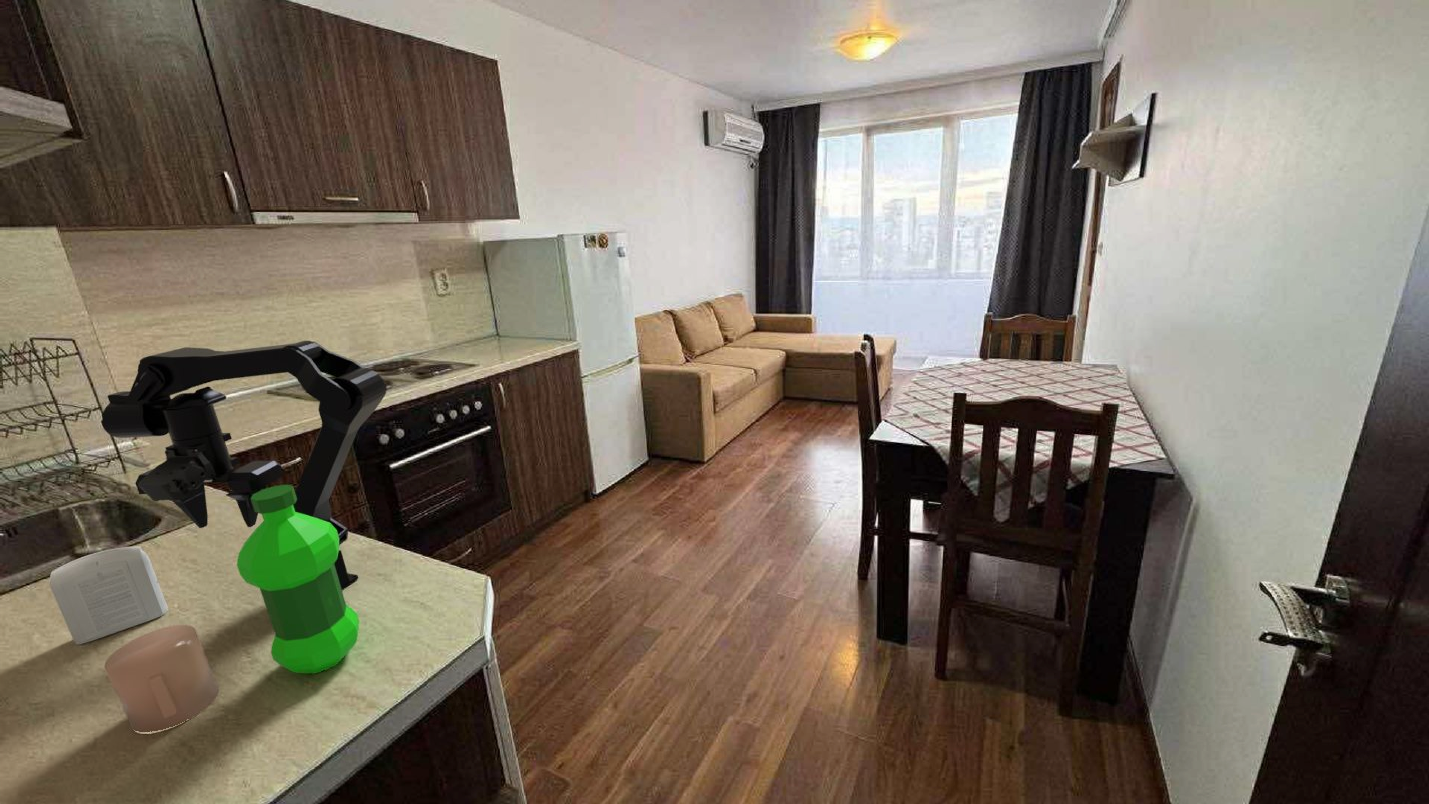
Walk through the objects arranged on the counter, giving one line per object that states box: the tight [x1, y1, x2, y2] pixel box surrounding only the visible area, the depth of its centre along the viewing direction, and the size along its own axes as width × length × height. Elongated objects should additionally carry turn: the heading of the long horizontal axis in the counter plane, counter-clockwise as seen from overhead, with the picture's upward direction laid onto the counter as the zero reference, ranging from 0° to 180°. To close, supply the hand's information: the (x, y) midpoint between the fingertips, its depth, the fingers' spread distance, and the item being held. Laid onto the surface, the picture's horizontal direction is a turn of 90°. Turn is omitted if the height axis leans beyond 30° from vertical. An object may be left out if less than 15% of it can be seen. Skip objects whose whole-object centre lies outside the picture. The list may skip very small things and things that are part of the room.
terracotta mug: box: [103, 624, 219, 732], centre depth 69 cm, size 9×8×9 cm
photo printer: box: [49, 545, 169, 645], centre depth 85 cm, size 10×4×12 cm, turn 134°
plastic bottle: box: [236, 484, 360, 675], centre depth 74 cm, size 10×10×25 cm
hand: (227, 526), depth 90 cm, fingers open, 8 cm apart
